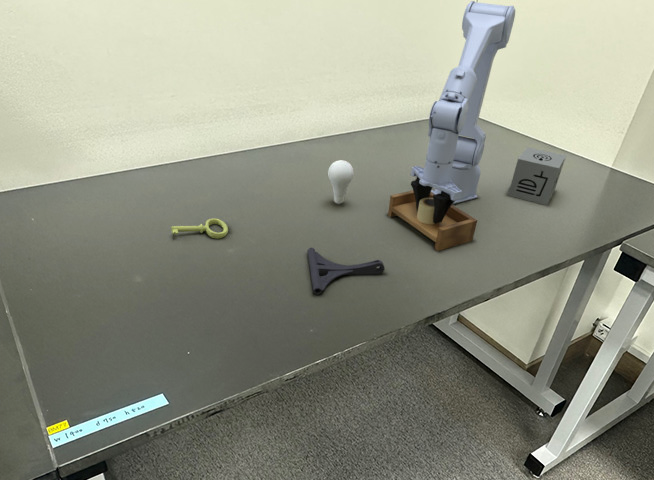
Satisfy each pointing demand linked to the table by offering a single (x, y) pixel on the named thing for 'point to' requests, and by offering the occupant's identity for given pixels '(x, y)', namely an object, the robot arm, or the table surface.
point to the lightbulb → (340, 179)
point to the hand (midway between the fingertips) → (428, 216)
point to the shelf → (445, 233)
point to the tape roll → (426, 210)
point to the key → (203, 228)
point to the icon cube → (536, 175)
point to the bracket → (336, 270)
